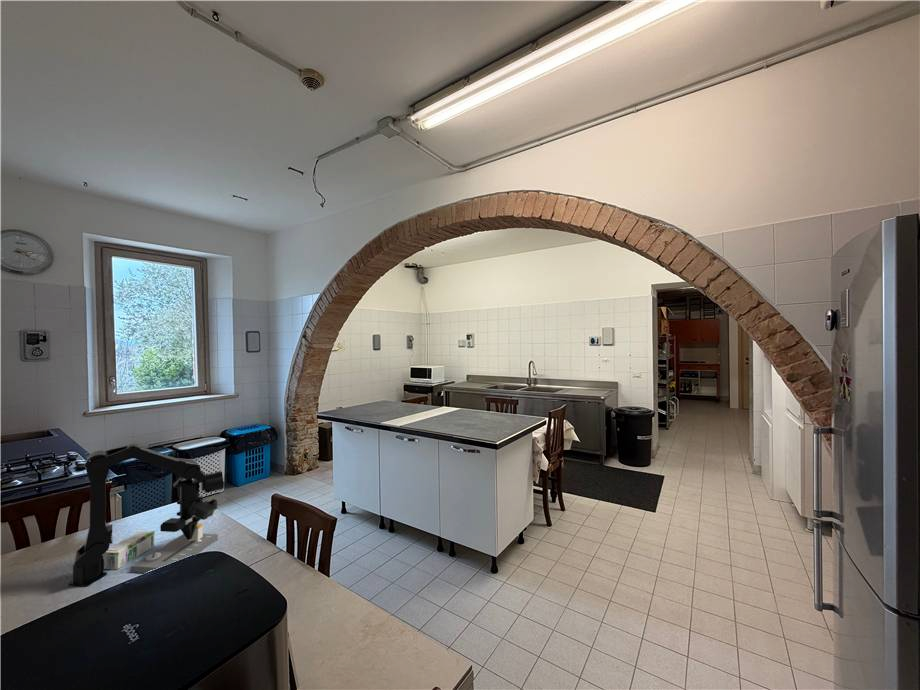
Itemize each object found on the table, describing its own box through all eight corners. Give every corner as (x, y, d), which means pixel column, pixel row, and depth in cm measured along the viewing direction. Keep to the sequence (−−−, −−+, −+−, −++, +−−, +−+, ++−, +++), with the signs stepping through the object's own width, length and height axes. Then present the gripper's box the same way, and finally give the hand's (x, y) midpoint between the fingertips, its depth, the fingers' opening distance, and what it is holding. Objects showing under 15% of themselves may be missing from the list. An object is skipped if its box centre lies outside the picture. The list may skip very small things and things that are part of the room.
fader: (197, 540, 138) (197, 527, 138) (189, 539, 138) (189, 526, 138) (203, 536, 141) (203, 523, 141) (195, 536, 141) (195, 523, 141)
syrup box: (154, 546, 138) (118, 569, 124) (139, 545, 138) (100, 569, 124) (155, 530, 138) (118, 552, 124) (139, 530, 138) (101, 552, 124)
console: (168, 574, 121) (168, 565, 121) (131, 572, 122) (131, 563, 122) (217, 539, 143) (217, 531, 143) (185, 537, 144) (185, 530, 144)
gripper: (189, 508, 126) (189, 554, 126) (228, 487, 145) (228, 527, 145) (159, 506, 127) (158, 552, 127) (201, 486, 146) (201, 526, 146)
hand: (189, 539), depth 136 cm, fingers closed
